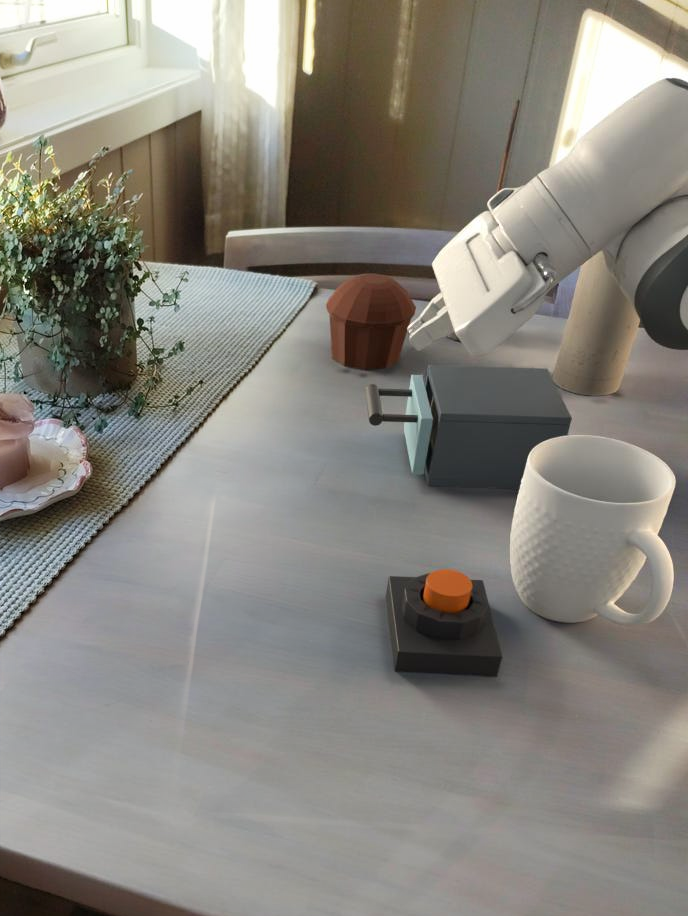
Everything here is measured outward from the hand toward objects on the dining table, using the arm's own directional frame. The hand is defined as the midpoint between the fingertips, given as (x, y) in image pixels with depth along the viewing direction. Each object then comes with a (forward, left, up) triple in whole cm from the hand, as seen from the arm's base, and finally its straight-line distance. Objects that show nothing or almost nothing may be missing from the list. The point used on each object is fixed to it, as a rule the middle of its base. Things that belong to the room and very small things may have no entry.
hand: (411, 340), depth 89 cm
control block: (-1, +30, -13) cm, 33 cm away
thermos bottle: (-25, -21, -13) cm, 35 cm away
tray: (-5, 0, -12) cm, 13 cm away
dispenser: (-9, 0, -13) cm, 16 cm away
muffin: (+2, -27, -13) cm, 30 cm away
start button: (-1, +30, -9) cm, 31 cm away
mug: (-13, +25, -13) cm, 31 cm away
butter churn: (-12, -34, -13) cm, 39 cm away
